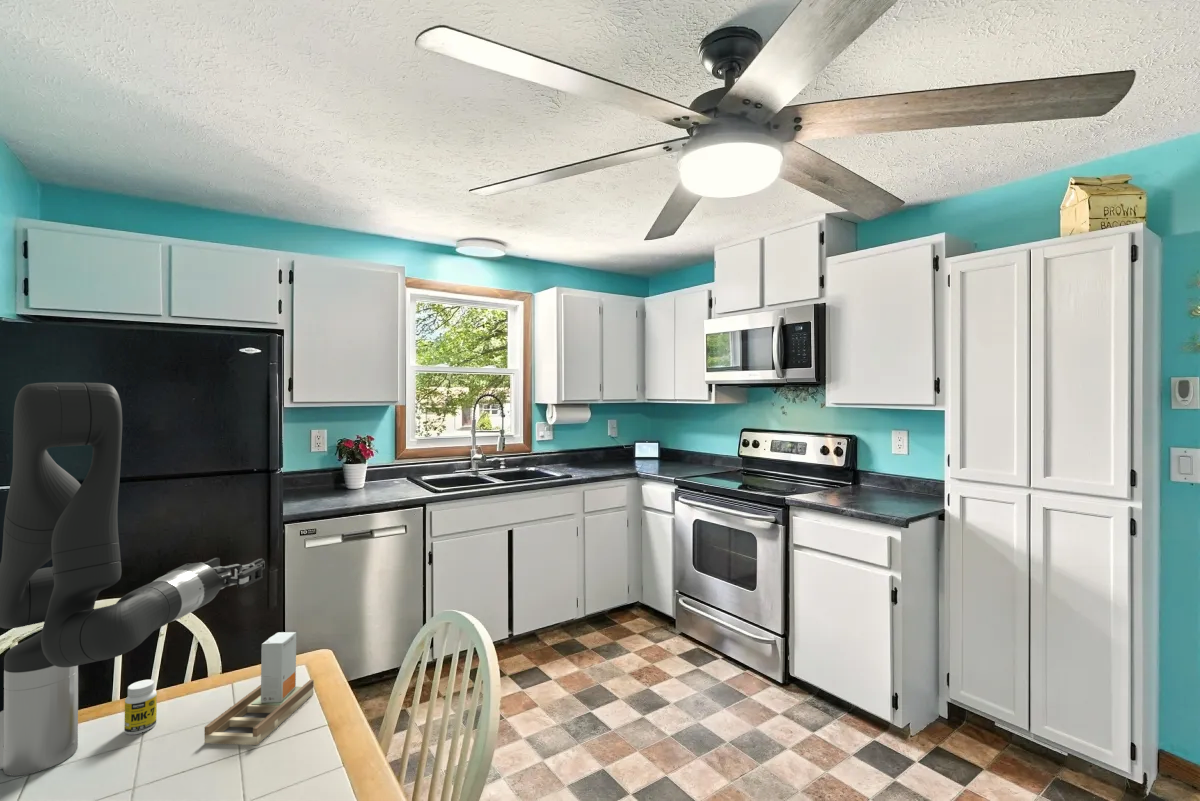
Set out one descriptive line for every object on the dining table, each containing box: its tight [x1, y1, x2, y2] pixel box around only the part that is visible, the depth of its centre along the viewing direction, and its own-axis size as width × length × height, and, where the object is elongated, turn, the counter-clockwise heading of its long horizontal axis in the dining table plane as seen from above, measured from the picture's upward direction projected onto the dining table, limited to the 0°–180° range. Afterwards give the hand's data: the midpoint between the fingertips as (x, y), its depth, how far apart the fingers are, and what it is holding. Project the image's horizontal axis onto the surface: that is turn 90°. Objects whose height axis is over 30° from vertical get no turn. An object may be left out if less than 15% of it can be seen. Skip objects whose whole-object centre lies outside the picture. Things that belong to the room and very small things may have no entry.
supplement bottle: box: [124, 679, 158, 736], centre depth 108 cm, size 5×5×8 cm
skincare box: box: [260, 631, 297, 703], centre depth 116 cm, size 6×4×12 cm
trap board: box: [204, 679, 314, 746], centre depth 111 cm, size 10×18×3 cm, turn 177°
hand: (240, 563), depth 110 cm, fingers open, 8 cm apart
